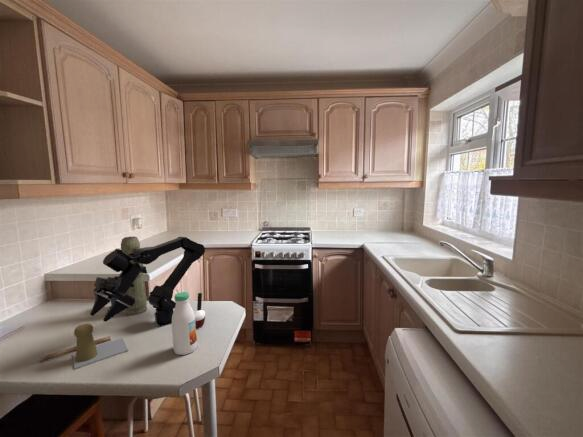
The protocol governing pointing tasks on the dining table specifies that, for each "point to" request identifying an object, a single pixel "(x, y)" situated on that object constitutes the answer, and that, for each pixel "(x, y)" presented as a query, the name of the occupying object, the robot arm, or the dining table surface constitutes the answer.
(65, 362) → the dining table surface
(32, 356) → the dining table surface
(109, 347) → the mat
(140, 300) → the thermos
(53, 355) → the walnut line
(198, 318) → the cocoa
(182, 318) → the milk bottle
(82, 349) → the cork
